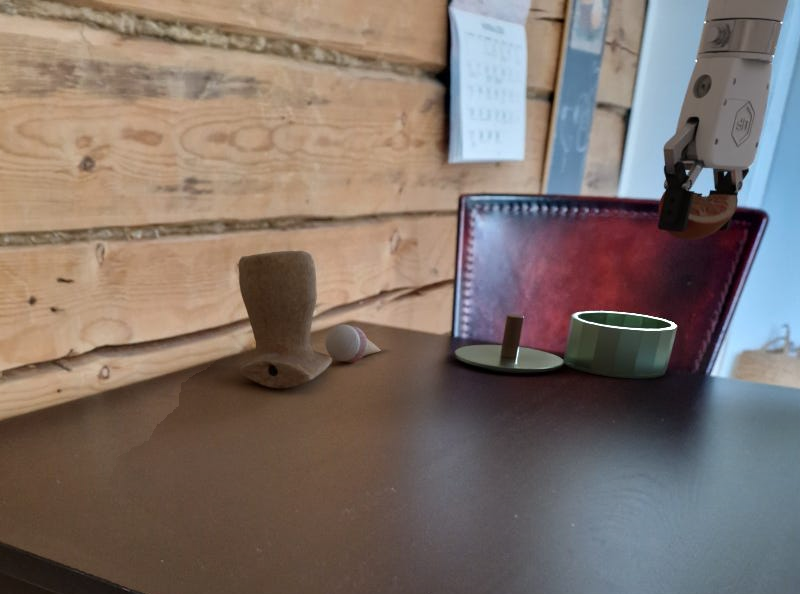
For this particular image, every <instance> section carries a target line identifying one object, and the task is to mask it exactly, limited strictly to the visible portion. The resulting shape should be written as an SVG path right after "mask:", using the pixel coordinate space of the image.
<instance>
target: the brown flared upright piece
mask: <svg viewBox="0 0 800 594" xmlns="http://www.w3.org/2000/svg"><path fill="white" fill-rule="evenodd" d="M237 268H238V284H239V290H240V294H241V298H242V301H243V304H244V307H245V310H246V313H247V317H248V321H249V324H250V327H251V330H252V333H253V338H254V342H255V352H254V353H253V355H252V356H251V357H250V358H249V359H248V360H247V361H246V363H245V364H244V365H242V366H241V367H240V368H239V371H240V374H242V375H243V376H245V377H246V378H248V379H250V380H252V381H254V382H255V383H257V384H259V385H262V386H264V387H267V388H271V389H288V388H294V387H297V386H301V385H304V384H306V383H308V382H311V381H312V380H313V379H315V378H316V377H318V376H319V375H321V374H323V372H325V371H326V369H327V368H328V367H329V366H330V365H331V364H332V362H333V360H332V359H333V358H332V357H331V356H330V355H329V354H326V353H322V352H318V351H316V350H314V349H313V348H312V346H311V333H312V325H313V317H314V313H315V310H316V303H317V297H318V296H317V295H318V294H317V293H318V291H317V290H318V289H317V273H316V265H315V262H314V258H313V256H312V255H311V253H309V252H307V251H304V250H282V251H281V250H279V251H272V252H264V253H256V254H251V255H244V256H241V257H240V259H239V260H238V266H237Z"/></svg>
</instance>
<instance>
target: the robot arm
mask: <svg viewBox="0 0 800 594" xmlns="http://www.w3.org/2000/svg"><path fill="white" fill-rule="evenodd" d="M788 2H789V0H708V3H707V7H706V8H707V9H706V12H705V16H704V21H703V26H702V30H701V35H700V39H699V43H698V47H697V54H696V58H695V64H694V67H693V70H692V73H691V76H690V79H689V82H688V85H687V88H686V92H685V95H684V99H683V102H682V105H681V108H680V113H679V117H678V120H677V125H676V129H675V134H674V135H672V137H670V138H669V139H668V141H666V142H665V143H664V145H663V160H664V166H663V174H664V179H665V180H664V183H663V188H664V192H665V196H664V200H663V205H662V209H661V214H660V218H659V219H658V222H657V223H658V224H657V229H658V230H660V231H666V230H667V231H676V232H683V231H685V229H686V226H687V222H688V217H689V213H690V209H691V205H692V200H693V196H694V193H696V192H695V191H694V190H691V189H692V187H693V186H694V184H695V183H696V181H697V179H698V178H699V176H700V174H701V172H702V171H703V169H712V174H713V185H714V190H713V189H710V190H709V192H708V196H709V195H712V194H715V195H716V194H720V195H722V194H727V195H728V194H729V195H736V196H737V197H738V195H739V193H740V192H741V191H742V188H743V184H744V182H743V181H744V180H745V179H746V177H747V175H748V174H749V173H750V167H752V165H754V163H755V160H756V156H757V153H758V149H759V144H760V140H761V135H762V132H763V131H762V130H763V128H764V127H763V126H764V121H765V117H766V111H767V107H768V101H769V94H770V89H771V88H770V87H771V81H772V79H771V78H772V70H773V69H772V67H773V64H772V63H773V61H774V57H775V53H776V49H777V45H778V41H779V38H780V33H781V30H782V26H783V22H784V18H785V14H786V11H787V6H788ZM687 171H688V172H687ZM732 218H733V216H732V217H731V218H730V219H729V220H728V221H727V222H726V223H725V224H724V225H723V226H722V227H721V228H720V229H719V230H718V231H722V232H723V231H728V230H729V229H730V225H731V222H732ZM667 231H666V232H667Z"/></svg>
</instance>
